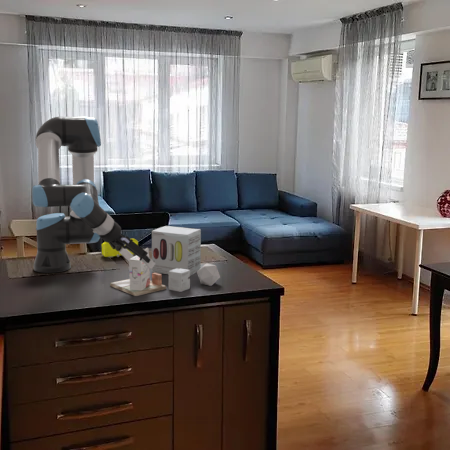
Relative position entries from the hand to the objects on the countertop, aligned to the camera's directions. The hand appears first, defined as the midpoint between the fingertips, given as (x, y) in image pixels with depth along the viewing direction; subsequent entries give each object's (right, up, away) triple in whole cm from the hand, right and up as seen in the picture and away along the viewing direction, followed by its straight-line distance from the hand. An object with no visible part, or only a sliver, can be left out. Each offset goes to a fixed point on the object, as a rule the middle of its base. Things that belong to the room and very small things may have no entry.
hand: (142, 262), depth 219 cm
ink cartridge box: (-1, -9, +1) cm, 10 cm away
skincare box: (+14, -11, +5) cm, 18 cm away
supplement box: (+10, -6, +30) cm, 32 cm away
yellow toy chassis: (-18, -1, +56) cm, 59 cm away
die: (+24, -9, +12) cm, 29 cm away
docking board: (-2, -10, +6) cm, 12 cm away
